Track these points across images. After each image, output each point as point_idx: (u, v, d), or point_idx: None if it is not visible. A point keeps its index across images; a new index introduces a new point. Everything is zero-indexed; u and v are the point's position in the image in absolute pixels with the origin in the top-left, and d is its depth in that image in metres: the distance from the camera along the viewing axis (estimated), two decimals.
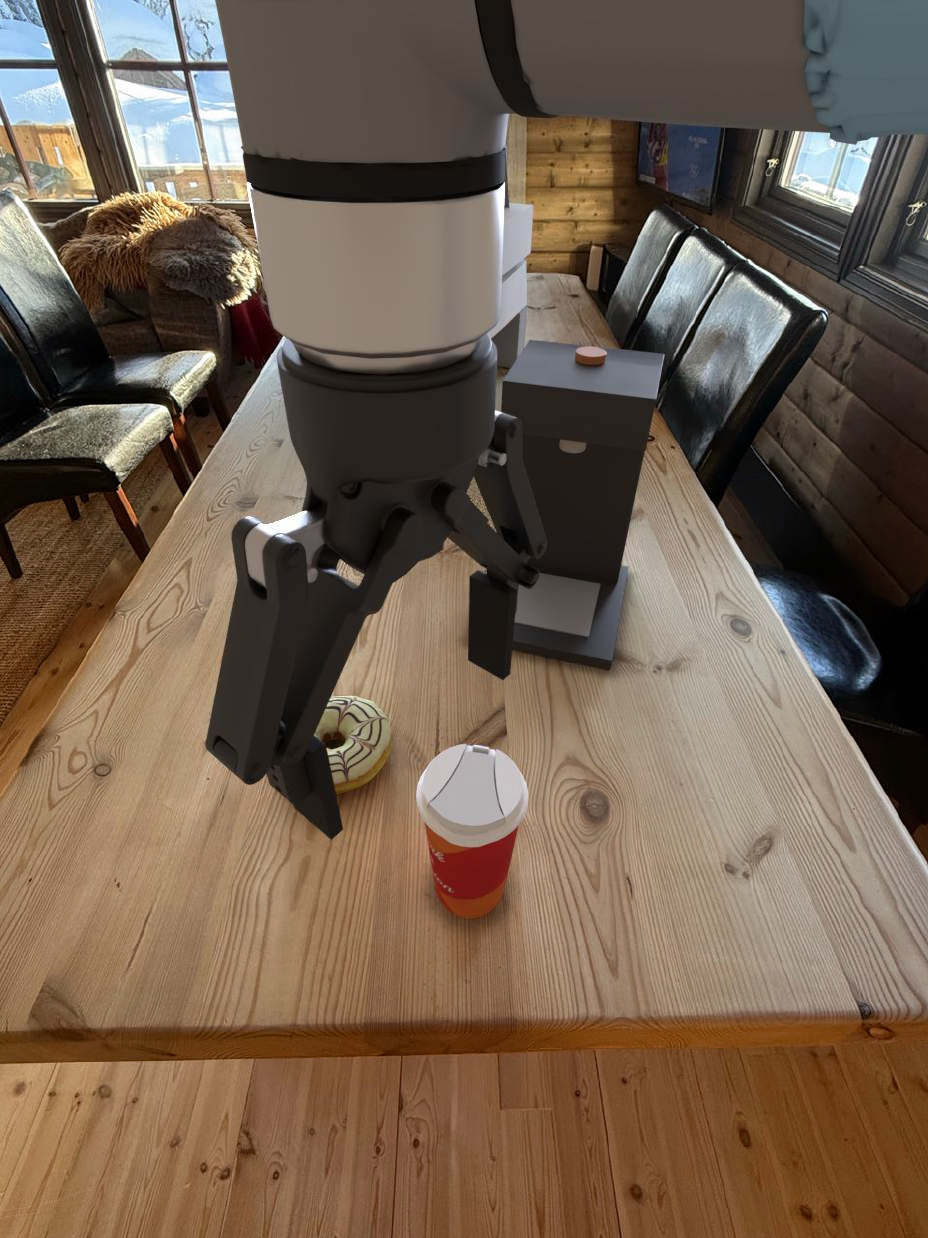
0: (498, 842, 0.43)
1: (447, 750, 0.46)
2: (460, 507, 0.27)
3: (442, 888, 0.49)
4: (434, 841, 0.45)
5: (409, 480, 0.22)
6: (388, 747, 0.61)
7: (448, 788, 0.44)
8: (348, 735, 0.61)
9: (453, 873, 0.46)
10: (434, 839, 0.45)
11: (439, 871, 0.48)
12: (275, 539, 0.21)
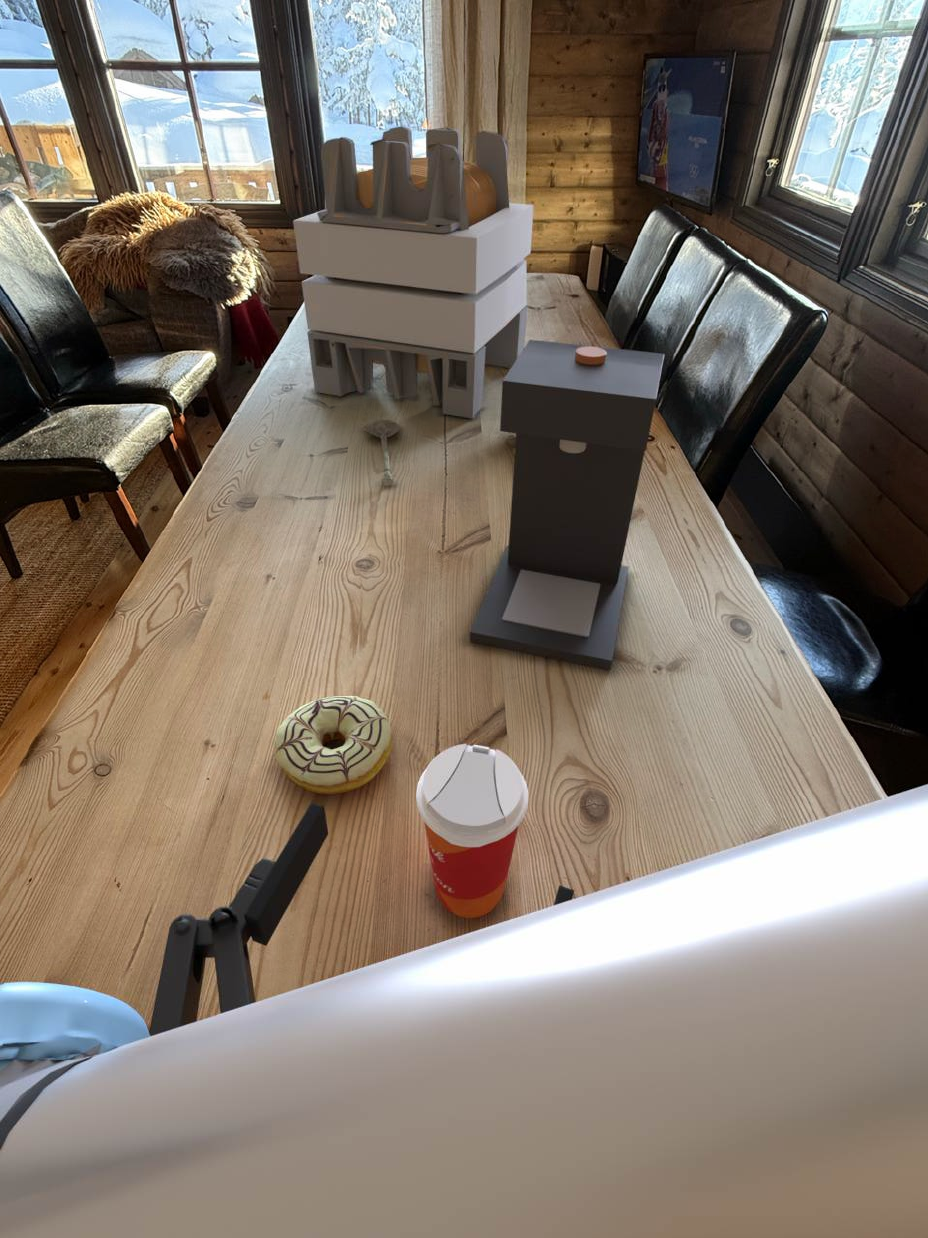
0: (498, 842, 0.43)
1: (447, 750, 0.46)
2: None
3: (442, 888, 0.49)
4: (434, 841, 0.45)
5: None
6: (388, 747, 0.61)
7: (448, 788, 0.44)
8: (348, 735, 0.61)
9: (453, 873, 0.46)
10: (434, 839, 0.45)
11: (439, 871, 0.48)
12: None
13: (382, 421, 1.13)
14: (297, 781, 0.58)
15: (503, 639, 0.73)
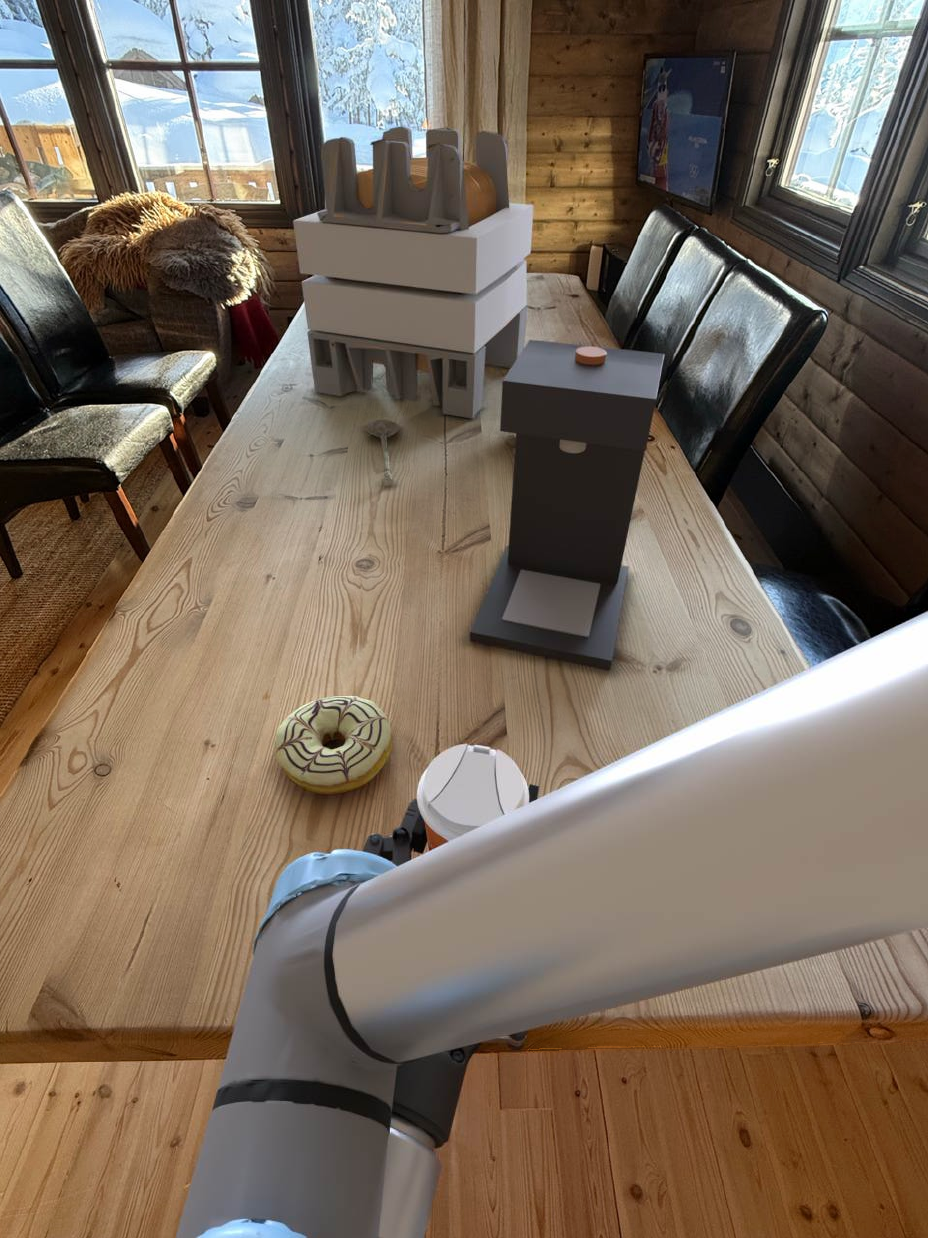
0: None
1: (448, 750, 0.46)
2: None
3: None
4: (435, 841, 0.45)
5: None
6: (388, 747, 0.61)
7: (449, 788, 0.44)
8: (348, 735, 0.61)
9: None
10: (435, 839, 0.45)
11: None
12: (520, 1040, 0.38)
13: (382, 421, 1.13)
14: (297, 781, 0.58)
15: (503, 639, 0.73)
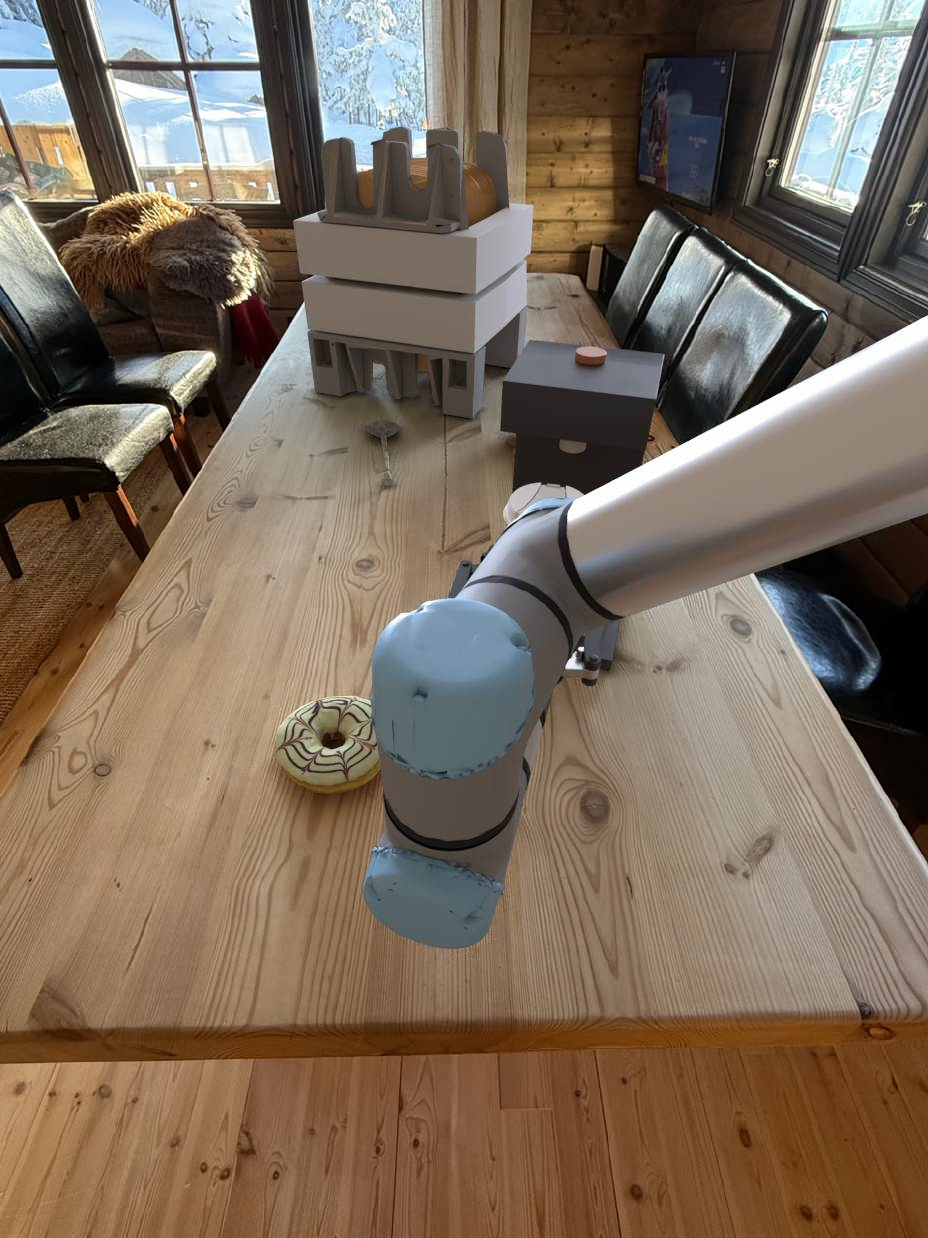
0: None
1: (526, 485, 0.57)
2: None
3: None
4: None
5: None
6: None
7: (530, 504, 0.55)
8: (348, 735, 0.61)
9: None
10: None
11: None
12: (595, 669, 0.49)
13: (382, 421, 1.13)
14: (297, 781, 0.58)
15: None
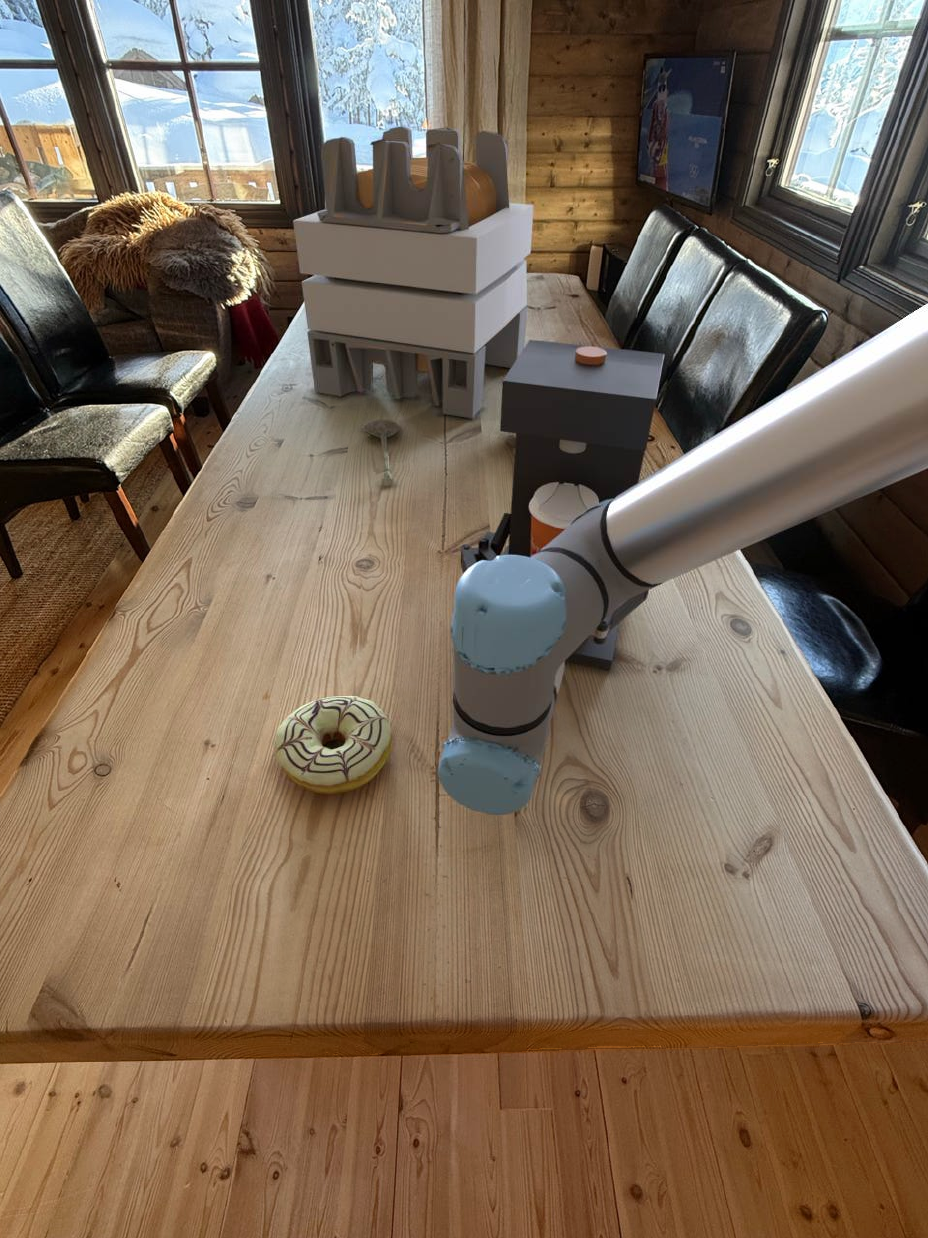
0: None
1: (547, 484, 0.71)
2: None
3: None
4: (540, 538, 0.70)
5: None
6: (388, 747, 0.61)
7: (551, 499, 0.69)
8: (348, 735, 0.61)
9: None
10: (541, 535, 0.70)
11: None
12: (602, 630, 0.62)
13: (382, 421, 1.13)
14: (297, 781, 0.58)
15: None
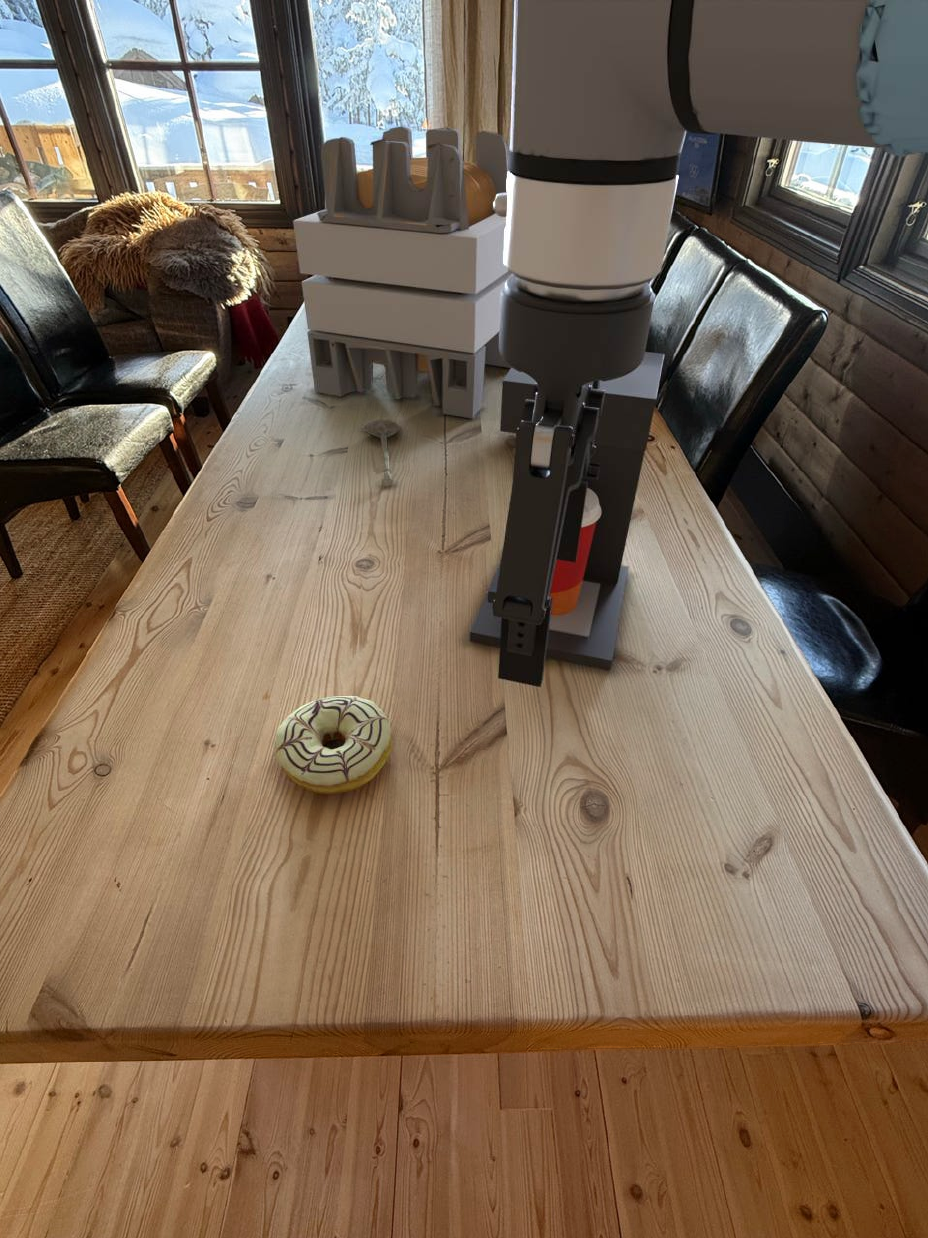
0: (583, 532, 0.68)
1: None
2: (602, 405, 0.37)
3: None
4: None
5: (621, 375, 0.32)
6: (388, 747, 0.61)
7: None
8: (348, 735, 0.61)
9: None
10: None
11: None
12: (559, 427, 0.30)
13: (382, 421, 1.13)
14: (297, 781, 0.58)
15: None
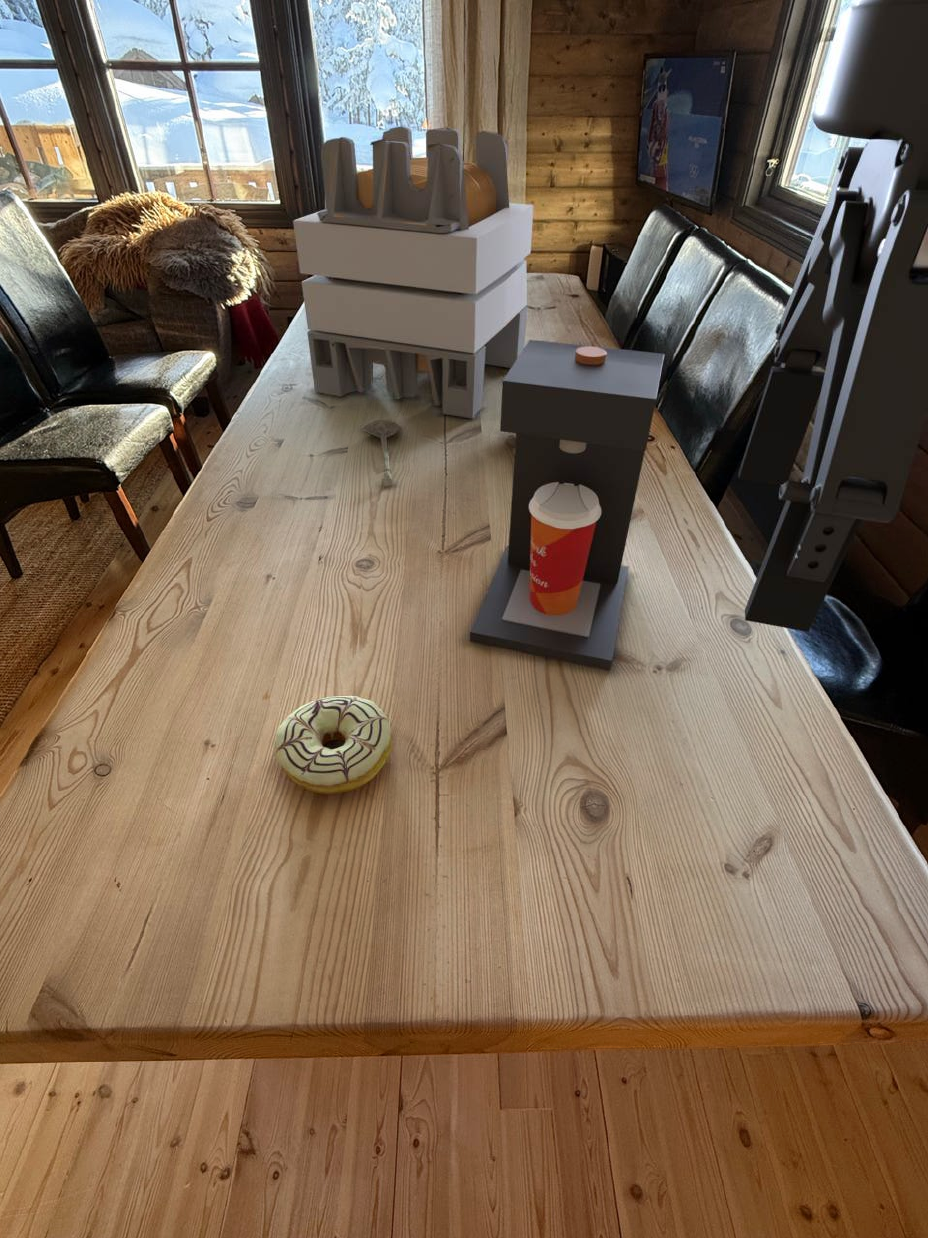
0: (583, 532, 0.68)
1: (547, 484, 0.71)
2: None
3: (539, 587, 0.74)
4: (540, 538, 0.70)
5: None
6: (388, 747, 0.61)
7: (551, 499, 0.69)
8: (348, 735, 0.61)
9: (550, 564, 0.71)
10: (541, 535, 0.70)
11: (539, 569, 0.72)
12: None
13: (382, 421, 1.13)
14: (297, 781, 0.58)
15: (503, 639, 0.73)
